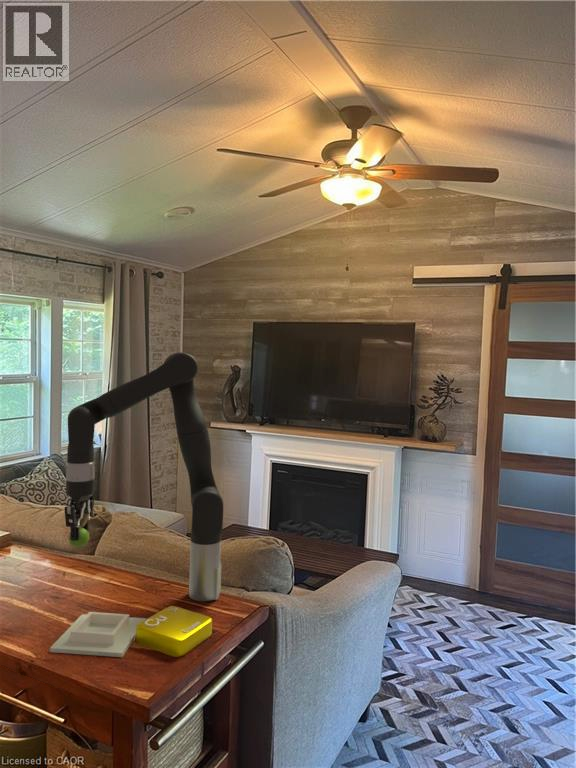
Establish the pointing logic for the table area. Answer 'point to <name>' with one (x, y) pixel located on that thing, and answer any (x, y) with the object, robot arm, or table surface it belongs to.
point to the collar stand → (98, 635)
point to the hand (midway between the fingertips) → (79, 536)
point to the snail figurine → (81, 533)
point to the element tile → (174, 631)
